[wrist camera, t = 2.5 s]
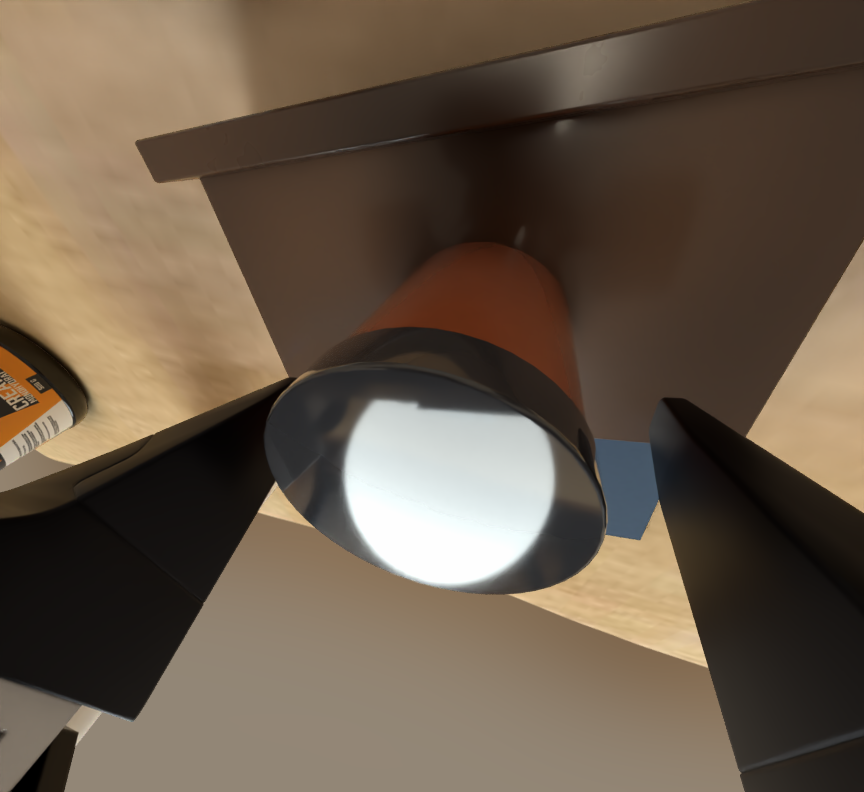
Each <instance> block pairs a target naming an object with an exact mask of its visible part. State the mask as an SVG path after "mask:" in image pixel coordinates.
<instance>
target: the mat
mask: <svg viewBox="0 0 864 792" xmlns="http://www.w3.org/2000/svg"><path fill="white" fill-rule="evenodd" d="M594 441H595V444H596V448H597V452H598V456H599V462H600V468H601V474H602V480H603V486H604V492H605V497H606V503H607V519H608V523H607V528H606V533H605V535H611V536H617V537H623V538H629V539H636V540H641V537H642V535H643V533H644V531H645V529H646V526H647V524H648V522H649V520H650V518H651V515H652V513H653V511H654V509H655V507H656V504H657V502H658V500H659V496H658V491H657V485H656V479H655V472H654V465H653V459H652V452H651V446H650V443H641V442H629V441H618V440H607V439H595V438H594Z"/></svg>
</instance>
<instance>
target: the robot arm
mask: <svg viewBox="0 0 864 792" xmlns="http://www.w3.org/2000/svg"><path fill="white" fill-rule="evenodd" d="M296 379H297V378H296V377H289V378H286V379H283V380H281V381H279V382H276V383H274V384H271V385H269V386H267V387H264V388H262V389H260V390H257V391H255V392H252V393H250V394H248V395H245V396H243V397H241V398H238V399H236V400H233V401H231V402H229V403H226V404H224V405H221V406H219V407H217V408H214V409H212V410H210V411H207V412H205V413H202V414H200V415H198V416H195V417H193V418H191V419H188V420H186V421H183V422H181V423H179V424H176V425H174V426H172V427H169V428H167V429H164V430H162V431H160V432H157V433H155V435H150V436H148V437H145V438H143V439H140V440H138V441H136V442H133V443H131V444H128V445H126V446H123V447H121V448H119V449H116V450H114V451H111V452H109V453H106V454H104V455H101V456H98V457H96V458H93V459H91V460H88V461H86V462H83V463H80V464H78V465H75V466H72V467H70V468H67V469H65V470H62V471H59V472H57V473H54V474H51V475H49V476H46V477H44V478H41V479H38V480H36V481H33V482H30V483H28V484H25V485H23V486H20V487H17V488H14V489H11V490H8V491H4V492H1V493H0V792H64V790H65V785H66V782H67V778H68V773H69V770H70V766H71V762H72V758H73V754H74V749H75V746H76V742H77V738H78V734H79V732H77V731H75V730H73V729H71V728H69V727H68V726H66V724H67V723H68V722H69V721H70V719H71V718H72V717H73V716H74V714H75V713H76V712H77V711H78V710H79V708H80V707H81V706H82V705H83V706H86V707H89V708H92V709H95V710H98V711H101V712H104V713H107V714H110V715H113V716H116V717H119V718H122V719H125V720H128V721H131V722H133V721H134V720H135V719H136V718H137V716H138V715H139V713H140V711H141V710H142V709H143V707H144V705H145V704H146V702H147V700H148V699H149V697H150V695H151V694H152V692H153V690H154V688H155V686H156V685H157V683H158V681H159V680H160V678H161V676H162V675H163V673H164V671H165V669H166V668H167V666H168V665H169V663H170V661H171V659H172V658H173V656H174V654H175V652H176V651H177V649H178V647H179V646H180V644H181V642H182V641H183V639H184V637H185V635H186V634H187V632H188V630H189V629H190V627H191V625H192V623H193V622H194V620H195V618H196V617H197V615H198V613H199V612H200V610H201V608H202V606H203V603H204V602H205V601H206V599H207V597H208V595H209V594H210V592H211V591H212V589H213V587H214V585H215V584H216V582H217V580H218V578H219V577H220V575H221V574H222V572H223V570H224V568H225V567H226V565H227V563H228V562H229V560H230V558H231V556H232V555H233V553H234V551H235V550H236V548H237V546H238V545H239V543H240V541H241V539H242V538H243V536H244V534H245V533H246V531H247V529H248V528H249V526H250V524H251V522H252V521H253V519H254V517H255V516H256V514H257V512H258V510H259V509H260V507H261V505H262V504H263V502H264V500H265V499H266V497H267V495H268V493H269V492H270V490H271V488H272V487H273V485H274V483H275V481H276V480H275V479H274V477H273V475H272V473H271V470H270V467H269V465H268V462H267V459H266V454H265V449H264V430H265V425H266V420H267V417H268V415H269V413H270V410H271V408H272V406H273V404H274V403H275V401H276V400H277V399H278V397H279V396H280V395H281V393H282V392H283V391H284V390H285V389H286V388H287V387H289V386H290V385H291V384H292V383H293V382H294V381H295V380H296ZM649 439H650V446H651V452H652V459H653V465H654V472H655V479H656V485H657V491H658V496H659V501H660V505H661V508H662V512H663V515H664V519H665V522H666V525H667V529H668V532H669V536H670V539H671V542H672V546H673V549H674V552H675V556H676V559H677V563H678V566H679V569H680V573H681V576H682V580H683V583H684V586H685V590H686V593H687V596H688V600H689V603H690V607H691V610H692V613H693V617H694V620H695V624H696V627H697V630H698V634H699V637H700V641H701V644H702V647H703V651H704V654H705V657H706V661H707V664H708V668H709V671H710V674H711V678H712V681H713V685H714V688H715V691H716V695H717V698H718V701H719V705H720V708H721V712H722V715H723V718H724V721H725V725H726V729H727V732H728V735H729V739H730V742H731V745H732V749H733V752H734V755H735V759H736V762H737V765H738V769H739V771H740V772H741V775H740V777H741V780H742V784H743V787H744V791H745V792H864V513H863V512H861V511H860V510H858V509H856V508H855V507H853V506H852V505H850V504H849V503H847V502H845V501H844V500H842V499H841V498H839V497H838V496H836V495H835V494H833V493H831V492H830V491H828V490H827V489H825V488H824V487H822V486H821V485H819V484H817V483H816V482H814V481H813V480H811V479H810V478H808V477H807V476H805V475H803V474H802V473H800V472H799V471H797V470H796V469H794V468H793V467H791V466H789V465H788V464H786V463H785V462H783V461H782V460H780V459H779V458H777V457H775V456H774V455H772V454H771V453H769V452H768V451H766V450H765V449H763V448H761V447H760V446H758V445H757V444H755V443H754V442H752V441H751V440H749V439H747V438H746V437H744V436H743V435H741V434H740V433H738V432H736V431H735V430H733V429H732V428H730V427H729V426H727V425H726V424H724V423H722V422H721V421H719V420H718V419H716V418H715V417H713V416H712V415H710V414H708V413H707V412H705V411H704V410H702V409H701V408H699V407H698V406H696V405H694V404H693V403H691V402H690V401H688V400H686V399H684V398H671V397H664V398H662V399H660V401H659V402H658V405H657V407H656V410H655V413H654V416H653V419H652V421H651V424H650V428H649Z"/></svg>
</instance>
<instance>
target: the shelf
mask: <svg viewBox="0 0 864 792" xmlns="http://www.w3.org/2000/svg"><path fill="white" fill-rule="evenodd" d="M135 144H136V146H137V148H138V150H139V152H140V154H141V156H142V158H143V160H144V161H145V163H146V165H147V167H148V169H149V171H150V173H151V175H152V177H153V179H154V181H155V182H157V183H166V182H175V181H184V180H193V179H200V180H201V182H202V185H203V187H204V189H205V191H206V194H207V196H208V198H209V200H210V202H211V205H212V207H213V209H214V211H215V214H216V216H217V218H218V220H219V222H220V225H221V227H222V229H223V231H224V234H225V236H226V238H227V240H228V242H229V245H230V247H231V249H232V251H233V254H234V256H235V258H236V260H237V262H238V265H239V267H240V269H241V271H242V274H243V276H244V278H245V280H246V283H247V285H248V287H249V289H250V291H251V294H252V296H253V298H254V300H255V303H256V305H257V307H258V309H259V311H260V314H261V316H262V318H263V320H264V323H265V325H266V327H267V329H268V331H269V334H270V336H271V338H272V340H273V343H274V345H275V347H276V349H277V352H278V354H279V356H280V358H281V360H282V363H283V365H284V367H285V369H286V372H287V374H288V376H289V377H296V378H298V377H299V376H300V375H301V374H302V373H303V372H304V371H305V370H306V369H307V368H308V367H309V366H310V365H311V364H312V363H314V362H315V361H316V360H317V359H318V358H319V357H320V356H321V355H322V354H324V353H325V352H326V351H327V350H328V349H330V348H331V347H333V346H335V345H337V344H338V343H340V342H342V341H343V340H345V339H346V338H347V337H348V336H349V335H350V334H351V333H352V332H353V331H354V330H355V329H356V328H357V327H358V326H359V325H360V324H361V323H362V322H363V321H364V320H365V319H366V318H367V317H368V316H369V315H370V314H371V313H372V312H373V311H374V310H375V309H376V308H377V307H378V306H379V305H380V304H381V303H382V302H383V301H384V300H385V299H386V298H387V297H388V296H389V295H390V294H391V293H392V292H393V291H394V290H395V289H396V288H397V287H398V286H399V285H400V284H401V283H402V282H403V281H404V280H405V279H406V278H407V277H408V276H409V275H410V274H411V273H412V272H413V271H414V270H415V269H416V268H417V267H418V266H419V265H420V264H422V263H423V262H424V261H425V260H426V259H428V258H429V257H431V256H432V255H434V254H435V253H437V252H439V251H441V250H443V249H446V248H448V247H451V246H454V245H458V244H461V243H468V242H493V243H500V244H504V245H507V246H511V247H514V248H516V249H518V250H520V251H523V252H525V253H527V254H528V255H530V256H532V257H533V258H535V259H536V260H538V261H539V262H540V263H541V264H542V265H543V266H545V267H546V268H547V269H548V270H549V271H550V273H551V274H552V275H553V276H554V277H555V278H556V280H557V281H558V283H559V285H560V286H561V288H562V290H563V292H564V294H565V296H566V299H567V301H568V305H569V309H570V313H571V320H572V327H573V334H574V340H575V347H576V354H577V360H578V367H579V374H580V380H581V387H582V394H583V401H584V407H585V414H586V421H587V424H588V426H589V428H590V430H591V432H592V434H593V437H594V438H595V439H607V440H618V441H629V442H641V443H650V439H649V428H650V424H651V421H652V419H653V416H654V413H655V410H656V407H657V405H658V402H659V401H660V399H662V398H664V397H671V398H684V399H686V400H688V401H690V402H691V403H693V404H694V405H696V406H698V407H699V408H701V409H702V410H704V411H705V412H707V413H708V414H710V415H712V416H713V417H715V418H716V419H718V420H719V421H721V422H722V423H724V424H726V425H727V426H729V427H730V428H732V429H733V430H735V431H736V432H738V433H740V434H741V435H743V436H744V437H746V435H747V434H748V432H749V430H750V429H751V427H752V425H753V424H754V422H755V420H756V419H757V417H758V415H759V414H760V412H761V410H762V409H763V407H764V405H765V404H766V402H767V400H768V399H769V397H770V395H771V394H772V392H773V390H774V389H775V387H776V385H777V384H778V382H779V380H780V379H781V377H782V375H783V374H784V372H785V370H786V369H787V367H788V365H789V364H790V362H791V360H792V359H793V357H794V355H795V354H796V352H797V350H798V349H799V347H800V345H801V343H802V342H803V340H804V338H805V337H806V335H807V333H808V332H809V330H810V328H811V327H812V325H813V323H814V322H815V320H816V318H817V317H818V315H819V313H820V312H821V310H822V308H823V307H824V305H825V303H826V302H827V300H828V298H829V297H830V295H831V293H832V292H833V290H834V288H835V287H836V285H837V283H838V282H839V280H840V278H841V277H842V275H843V273H844V272H845V270H846V268H847V267H848V265H849V263H850V262H851V260H852V258H853V257H854V255H855V253H856V252H857V250H858V248H859V247H860V245H861V243H862V242H863V240H864V0H754V1H750V2H745V3H741V4H737V5H732V6H728V7H723V8H719V9H715V10H710V11H706V12H701V13H697V14H693V15H688V16H684V17H679V18H675V19H670V20H666V21H662V22H657V23H653V24H648V25H644V26H640V27H635V28H631V29H626V30H622V31H617V32H613V33H609V34H604V35H600V36H595V37H591V38H587V39H582V40H578V41H573V42H569V43H564V44H560V45H556V46H551V47H547V48H542V49H538V50H534V51H529V52H525V53H520V54H516V55H511V56H507V57H503V58H498V59H494V60H489V61H485V62H481V63H476V64H472V65H467V66H463V67H459V68H454V69H450V70H445V71H441V72H436V73H432V74H428V75H423V76H419V77H414V78H410V79H406V80H401V81H397V82H392V83H388V84H383V85H379V86H375V87H370V88H366V89H361V90H357V91H353V92H348V93H344V94H339V95H335V96H330V97H326V98H322V99H317V100H313V101H308V102H304V103H300V104H295V105H291V106H286V107H282V108H277V109H273V110H269V111H264V112H260V113H255V114H251V115H247V116H242V117H238V118H233V119H229V120H225V121H220V122H216V123H211V124H207V125H202V126H198V127H194V128H189V129H185V130H180V131H176V132H172V133H167V134H163V135H158V136H154V137H149V138H145V139H141V140H137V141H136V142H135Z"/></svg>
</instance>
